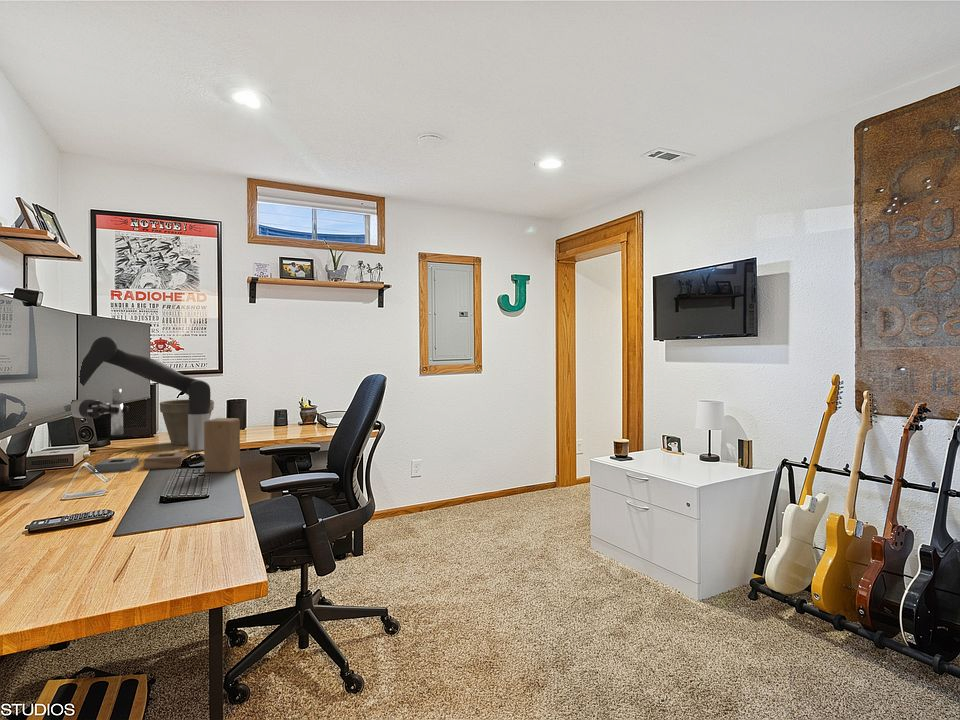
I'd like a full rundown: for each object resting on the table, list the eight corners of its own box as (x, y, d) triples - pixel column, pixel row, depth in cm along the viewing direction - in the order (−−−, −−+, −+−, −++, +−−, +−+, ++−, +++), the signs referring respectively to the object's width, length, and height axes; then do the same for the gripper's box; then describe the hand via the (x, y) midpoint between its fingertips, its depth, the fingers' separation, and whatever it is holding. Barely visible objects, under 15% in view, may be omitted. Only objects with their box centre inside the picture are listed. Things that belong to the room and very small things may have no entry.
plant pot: (208, 445, 271) (208, 402, 271) (153, 448, 265) (152, 403, 265) (218, 438, 295) (218, 398, 295) (168, 440, 289) (167, 399, 289)
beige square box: (151, 463, 227) (151, 453, 227) (186, 461, 231) (186, 451, 231) (144, 469, 215) (144, 459, 215) (181, 466, 219) (181, 457, 219)
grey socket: (104, 466, 220) (104, 459, 220) (138, 464, 224) (138, 457, 224) (94, 472, 209) (94, 464, 209) (130, 470, 213) (130, 462, 213)
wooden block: (229, 472, 208) (228, 420, 208) (203, 472, 208) (202, 420, 208) (241, 467, 218) (240, 417, 218) (216, 467, 218) (216, 417, 218)
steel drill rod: (112, 433, 218) (112, 389, 217) (124, 433, 219) (124, 388, 219) (109, 435, 214) (109, 389, 214) (121, 434, 215) (121, 389, 215)
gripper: (70, 400, 212) (107, 401, 209) (101, 398, 226) (137, 398, 223) (70, 420, 212) (108, 421, 209) (101, 416, 226) (137, 416, 223)
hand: (123, 409), depth 216 cm, fingers closed on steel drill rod, 4 cm apart
